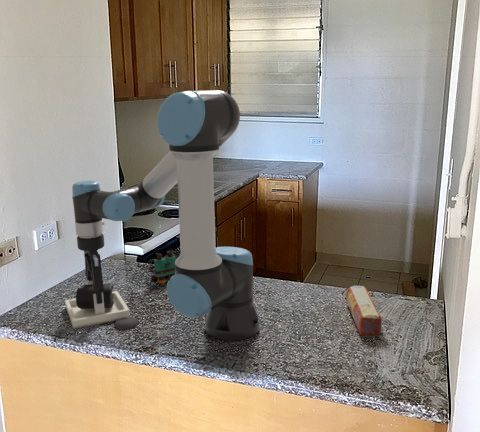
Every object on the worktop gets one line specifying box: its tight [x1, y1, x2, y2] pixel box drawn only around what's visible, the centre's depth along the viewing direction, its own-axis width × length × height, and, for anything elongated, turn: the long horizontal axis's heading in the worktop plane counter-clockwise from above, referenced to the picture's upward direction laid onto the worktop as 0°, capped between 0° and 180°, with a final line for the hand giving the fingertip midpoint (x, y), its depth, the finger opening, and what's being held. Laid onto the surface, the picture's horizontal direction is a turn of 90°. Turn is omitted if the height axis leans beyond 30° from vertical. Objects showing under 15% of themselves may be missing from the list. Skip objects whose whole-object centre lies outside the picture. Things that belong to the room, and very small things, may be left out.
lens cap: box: [114, 317, 139, 331], centre depth 150 cm, size 6×6×1 cm
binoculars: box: [148, 249, 177, 284], centre depth 183 cm, size 9×11×10 cm
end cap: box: [75, 283, 114, 309], centre depth 156 cm, size 10×7×7 cm
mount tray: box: [64, 290, 131, 330], centre depth 157 cm, size 16×16×2 cm
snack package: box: [345, 285, 383, 338], centre depth 149 cm, size 21×7×7 cm, turn 178°
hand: (96, 306), depth 157 cm, fingers closed on end cap, 9 cm apart
